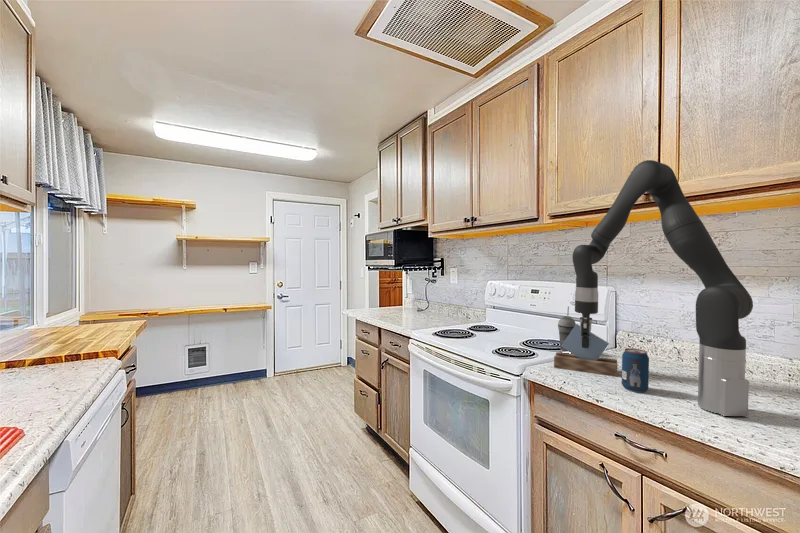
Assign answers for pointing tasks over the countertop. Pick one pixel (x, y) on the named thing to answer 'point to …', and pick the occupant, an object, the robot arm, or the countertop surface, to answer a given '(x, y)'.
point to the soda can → (635, 370)
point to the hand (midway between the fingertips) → (585, 346)
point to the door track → (586, 364)
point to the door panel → (575, 347)
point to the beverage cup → (565, 328)
